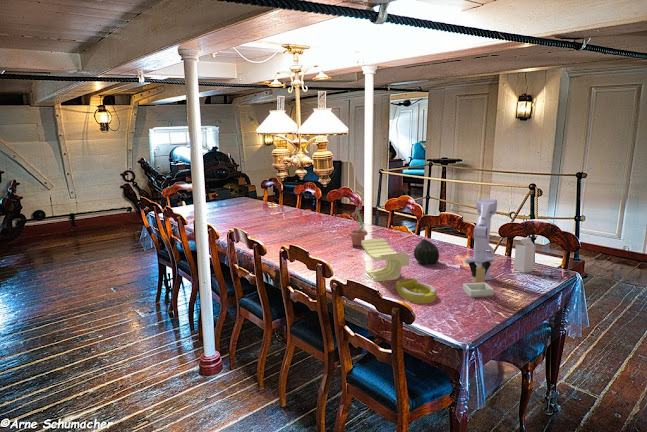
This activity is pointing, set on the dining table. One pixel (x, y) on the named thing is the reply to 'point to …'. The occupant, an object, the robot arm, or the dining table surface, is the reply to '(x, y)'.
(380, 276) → the slatted curved stool
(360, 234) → the decorative flower
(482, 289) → the tote
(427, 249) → the squash
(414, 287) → the ashtray
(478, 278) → the tea tin
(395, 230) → the dining table surface
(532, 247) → the milk carton
